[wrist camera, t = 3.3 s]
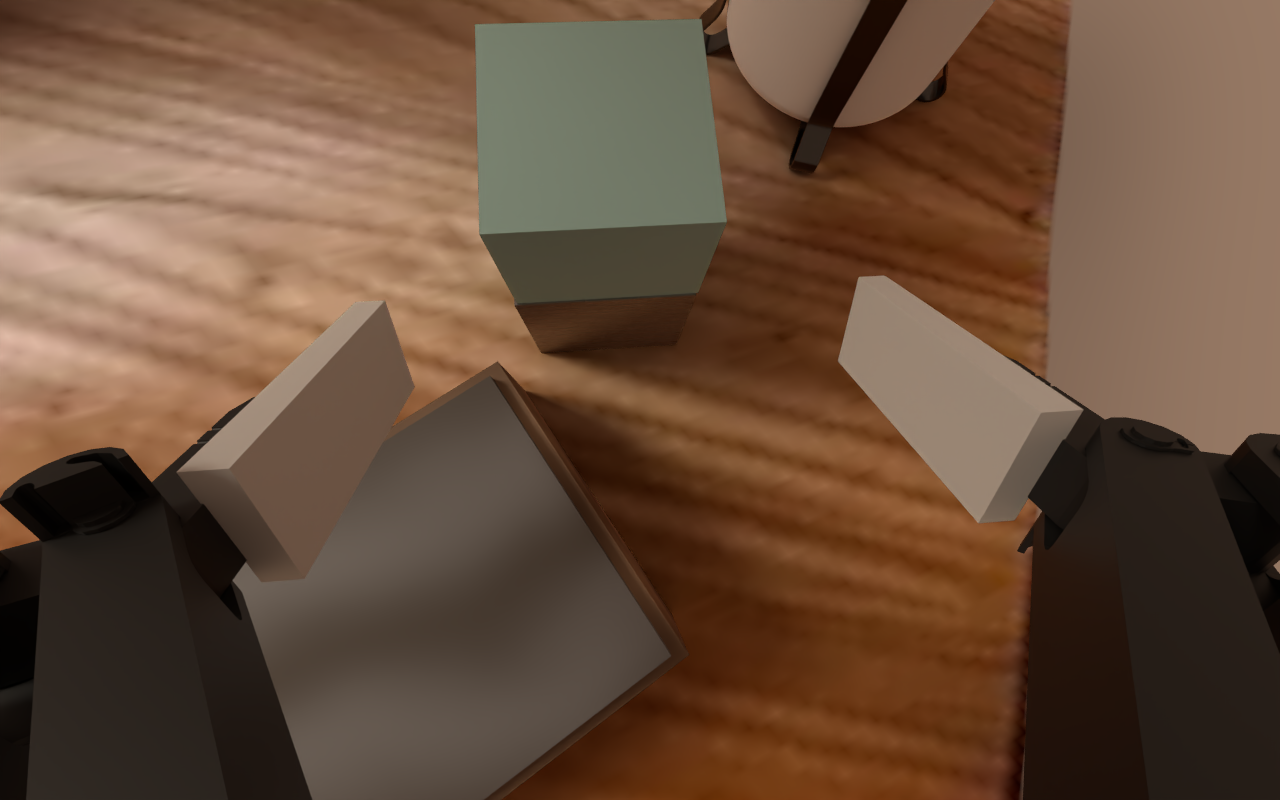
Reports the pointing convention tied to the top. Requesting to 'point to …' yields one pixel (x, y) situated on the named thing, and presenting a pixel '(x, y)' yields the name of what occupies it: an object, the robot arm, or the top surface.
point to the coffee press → (842, 57)
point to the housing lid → (597, 158)
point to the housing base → (606, 322)
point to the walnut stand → (459, 612)
